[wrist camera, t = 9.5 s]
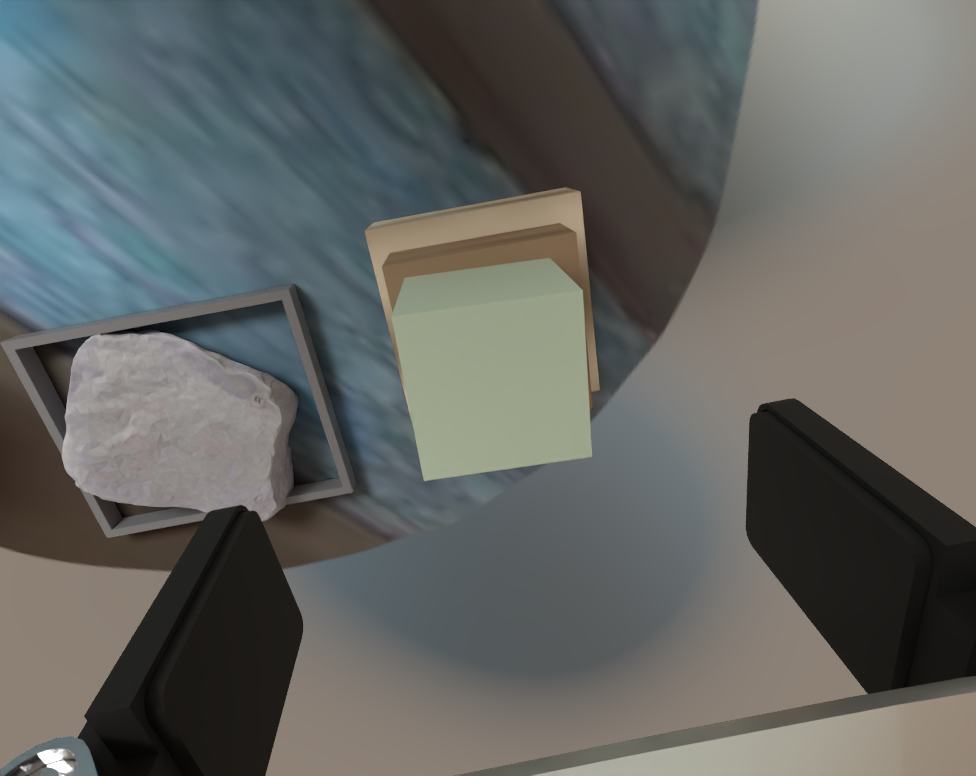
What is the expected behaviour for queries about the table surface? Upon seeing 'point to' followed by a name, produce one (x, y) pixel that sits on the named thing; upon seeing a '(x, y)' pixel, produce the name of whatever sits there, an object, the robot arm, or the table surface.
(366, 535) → the table surface
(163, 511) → the tray rim
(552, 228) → the walnut block
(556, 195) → the beech block
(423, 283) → the green cube
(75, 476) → the stone block
